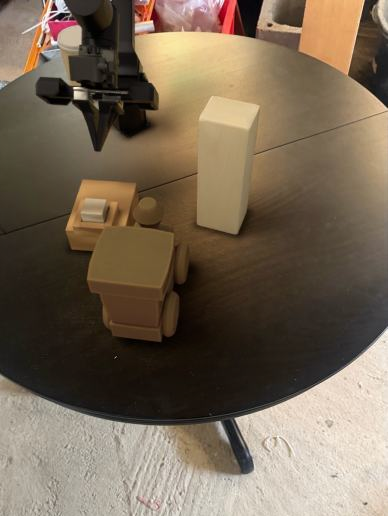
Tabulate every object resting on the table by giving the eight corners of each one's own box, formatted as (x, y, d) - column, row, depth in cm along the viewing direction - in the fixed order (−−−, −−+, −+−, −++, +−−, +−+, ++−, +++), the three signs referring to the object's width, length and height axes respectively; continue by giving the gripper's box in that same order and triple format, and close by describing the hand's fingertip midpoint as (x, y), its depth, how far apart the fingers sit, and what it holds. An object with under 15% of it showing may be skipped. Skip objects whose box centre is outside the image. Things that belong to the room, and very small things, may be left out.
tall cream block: (249, 208, 89) (262, 101, 71) (238, 235, 86) (249, 129, 68) (208, 199, 91) (212, 92, 73) (196, 225, 87) (196, 119, 69)
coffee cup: (88, 75, 114) (77, 19, 103) (117, 88, 111) (109, 32, 100) (60, 93, 110) (46, 37, 99) (90, 107, 107) (79, 51, 96)
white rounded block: (87, 207, 81) (85, 198, 79) (108, 208, 81) (106, 199, 79) (83, 222, 79) (80, 213, 77) (104, 223, 79) (102, 214, 77)
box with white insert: (87, 199, 91) (80, 170, 85) (139, 202, 90) (135, 174, 85) (70, 252, 84) (61, 225, 78) (126, 256, 83) (121, 229, 78)
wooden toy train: (173, 356, 72) (168, 288, 58) (101, 347, 73) (78, 278, 59) (193, 258, 83) (192, 180, 69) (129, 251, 84) (115, 173, 70)
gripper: (19, 19, 67) (20, 138, 70) (150, 25, 66) (144, 145, 69) (49, 50, 78) (49, 151, 81) (161, 55, 77) (156, 158, 80)
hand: (97, 151), depth 78 cm, fingers closed
